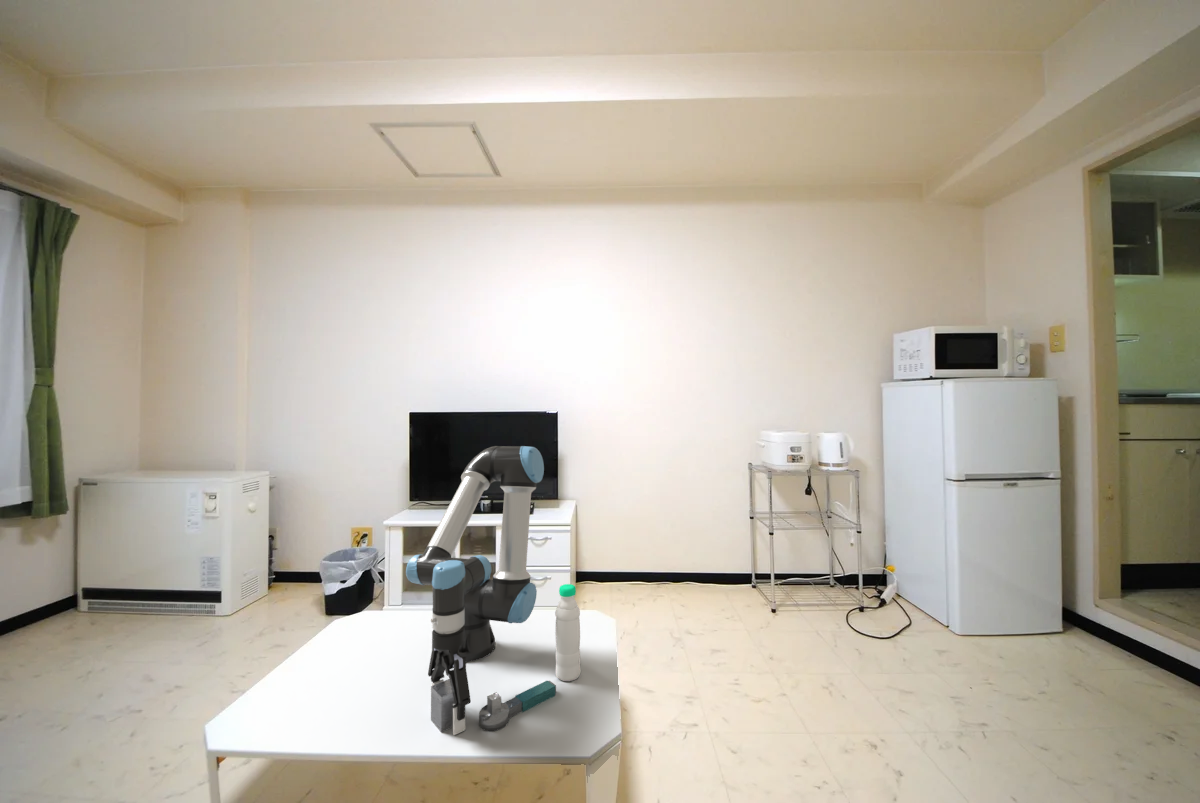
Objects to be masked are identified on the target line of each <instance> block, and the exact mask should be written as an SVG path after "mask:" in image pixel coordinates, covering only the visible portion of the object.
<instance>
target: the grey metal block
mask: <svg viewBox="0 0 1200 803" xmlns="http://www.w3.org/2000/svg"><path fill="white" fill-rule="evenodd" d="M454 704H455V702H454V697H453V693H452V688H451V684H450V679H449V678H448V679H446V680H444V681H443V682H441V683H438V684H436V685H433V686H432V685H431V686H430V721H431V722H432V723H433V724H434V726H435V727H436V729H438V730H439V732H440V733H443V732H444V731H447V730H449V729H451V728H453V707H452V706H453V705H454Z"/></svg>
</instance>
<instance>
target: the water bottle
mask: <svg viewBox="0 0 1200 803" xmlns="http://www.w3.org/2000/svg"><path fill="white" fill-rule="evenodd" d="M576 588H577V587H576V586H575V585H574V584H572V583H566V584H564V583H563V584H561V585H560V586H559V589H558V593H559V597H560V600H559V602H558V604H557V606H556V609H555V612H554V613H555V614H554V615H555V632H554V633H555V648H556V650H555V676H556V678H558V680H560V681H562V682H572V681H575V680H577V679H578V678H579V677H580V676H581V662H580V661H581V649H580V646H581V625H580V624H581V622H580V621H581V620H580V615H581V610H580V607H579V606H578V602H577V600H576V599H575V596H576V593H577V592H576V591H577V589H576Z"/></svg>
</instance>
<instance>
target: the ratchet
mask: <svg viewBox="0 0 1200 803" xmlns="http://www.w3.org/2000/svg"><path fill="white" fill-rule="evenodd" d="M556 694H557V684H555V683H553V682H552V681H551V680H545V681H543V682H540V683H539V684H537V685H535V686H533V687H530V688H528V689H527V690H524V691H522V692H521V693H518V694H516V695H515V696H514V697H512V698H510V699H508V700H506V701H504V702H502V695H500V694H499V693H498V692H497V691H496V692H495V691H494V693H491V694H489V695H487V696H486V697H487V698H486V699H487V700H486V705H484V706H482V707H481V709H480V710H479V714H478V722H479V723H478V725H479V728H480V729H481V730H482V731H485V732H497V731H500V730H502V729H504V728H505V727H507V726H508V724H509V722H510V719H511V718H513V717H515V716H517V715H519V714H521V713H524V712H526V711H528V710H530V709H532V708H535V707H536V706H538V705H540V704H542V703H543V702H546V701H548V700H550V699H552V698H553V697H555V696H556Z"/></svg>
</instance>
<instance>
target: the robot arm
mask: <svg viewBox="0 0 1200 803" xmlns="http://www.w3.org/2000/svg"><path fill="white" fill-rule="evenodd" d="M544 471H545V465H544V459H543V456H542V454H541V452H540V450H538V448H536V447H535V446H525V445H520V446H519V445H518V446H517V445H516V446H515V445H512V446H511V445H507V446H504V445H503V446H502V445H494V446H490V447H488V448H484V449H483V450H482V451H480V452H479V453H478V454H477V455H475V456H474V457H473V458H472V459H471V460H470V462H468V464H467V465H466V467H465V468H464V470H463V472H462V473H461V476H460V479H461V482H460V484H459V486H458V488H457V489H456V492H455V493H454V495H453V497H452V499H451V501H450V502H449V505H448V507H447V508H446V510H445V512H444V514H443V516H442V518H441V520H440V522H439V524H438V525H437V527H436V529H435V532H434V533H433V535H432V536H431V539H430V541H429V543H428V544H427V546H426V548H425V550H424V552H423V553H422V554H415V555H413V556H412V557H410V558H409V560H408V562H407V563H406V564H407V565H406V568H405V576H406V578H407V580H408V582H411V583H413V584H417V585H421V586H425V585H426V586H432V610H431V611H432V618H430V622H431V624H432V625H431V626H432V627H431V628H432V631H431V640H432V641H431V654H430V660H429V666H428V669H427V670H428V671H427V676H428V677H430V681H431V686H433V685H436V684H438V683H441V682H443V681H445V680H444V679H443V678H445V675H446V676H448V679H450V684H451V688H452V693H453V697H454V702H455V704H454V705H453V706H452V707H453V727H452V734H453V736H456V735H458V734H460V733H462V732H464V731H465V730H466V706H467V705H469V704H471V695H470V694H471V693H470V688H469V686H470V685H469V681H468V673H467V663H469V662H475V661H478V660H481V659H484V658H486V657H488V656H490V655H491V654H492V653H493V652H494V651H495V649H496V637H495V634H494V631H493V628H492V625H491V623H490V622H491V621H493V622H502V623H508V624H512V623H513V624H523V623H525V622H526V621H527V620H529V618H530V616H531V614H532V613H533V610H534V607H535V605H536V600H537V591H538V589H537V586H536V584H534V583H533V582H531V575H530V573H529V572H528V571H527V562H528V544H529V531H530V516H531V515H530V514H531V502H532V501H531V500H532V499H531V498H532V493H533V492H534V491H535V490H536V489H537V484H538V483H540V482H542V480H543V477H544V475H545V474H544V473H545V472H544ZM494 482H500V484H499V485H500V486H499V488H501V490H503V493H504V494H503V505H502V506H503V508H502V509H503V510H502V519H501V520H502V521H501V535H500V547H499V560H498V570H496V572H495V573H494V574H493V575H492V579H491V573H492V565H491V562H490V560H489V559H488V557H487V556H484V555H481V554H478V555H473V556H471V557H470V558H462V557H453V556H454V554H455V551H456V549H457V547H458V545H459V542H460V540H461V539H462V536H463V535H464V532H465V530H466V529H467V527H468V524H469V522H470V520H471V518H472V516H473V514H474V512H475V510H476V507H477V505H478V503H479V501H480V499H481V497H482V495H483V493H484V491H487V490H488V489H489V487H490V486H491V484H492V483H494Z"/></svg>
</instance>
